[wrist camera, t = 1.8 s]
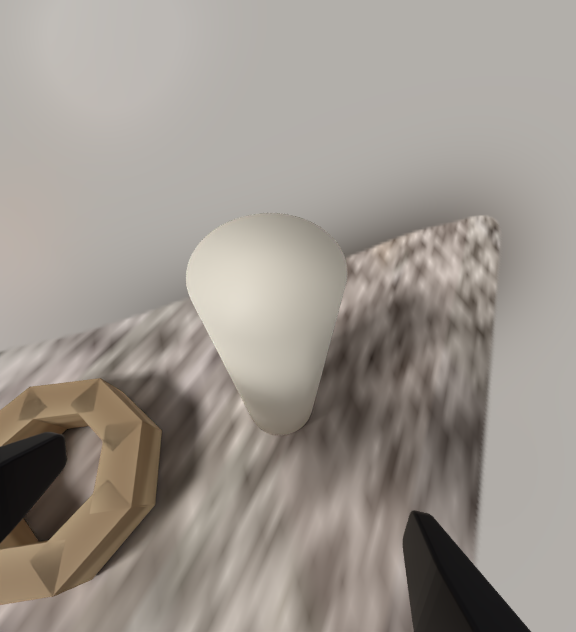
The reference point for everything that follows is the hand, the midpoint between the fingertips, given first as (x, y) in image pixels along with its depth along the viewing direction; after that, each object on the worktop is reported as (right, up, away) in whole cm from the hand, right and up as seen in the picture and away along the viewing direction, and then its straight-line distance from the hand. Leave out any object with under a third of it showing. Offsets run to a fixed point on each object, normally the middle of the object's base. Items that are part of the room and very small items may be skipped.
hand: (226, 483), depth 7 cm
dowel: (+1, -2, +13) cm, 13 cm away
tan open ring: (-11, -6, +10) cm, 16 cm away
